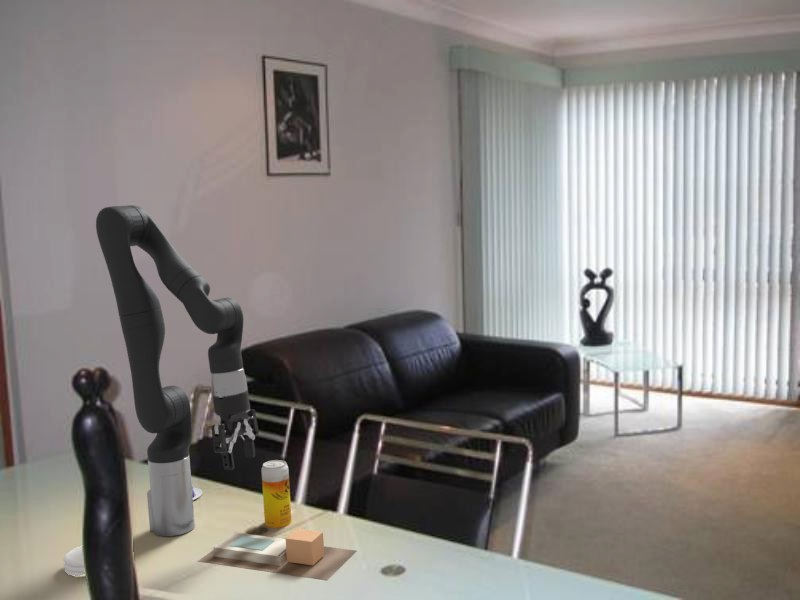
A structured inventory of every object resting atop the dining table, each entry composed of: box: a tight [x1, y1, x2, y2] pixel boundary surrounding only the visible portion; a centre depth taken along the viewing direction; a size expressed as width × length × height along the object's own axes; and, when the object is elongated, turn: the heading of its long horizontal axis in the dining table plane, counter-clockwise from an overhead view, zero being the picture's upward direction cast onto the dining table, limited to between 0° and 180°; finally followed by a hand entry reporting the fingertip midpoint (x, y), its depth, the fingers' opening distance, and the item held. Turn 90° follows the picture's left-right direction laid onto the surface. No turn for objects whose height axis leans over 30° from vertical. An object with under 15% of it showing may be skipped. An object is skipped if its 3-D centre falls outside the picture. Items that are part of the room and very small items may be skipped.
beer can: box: [260, 459, 292, 529], centre depth 192 cm, size 6×6×15 cm
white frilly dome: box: [63, 545, 85, 576], centre depth 176 cm, size 10×10×4 cm
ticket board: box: [197, 532, 357, 581], centre depth 175 cm, size 30×14×3 cm, turn 68°
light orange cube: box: [285, 528, 324, 565], centre depth 172 cm, size 6×5×5 cm
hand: (240, 463), depth 183 cm, fingers open, 8 cm apart
